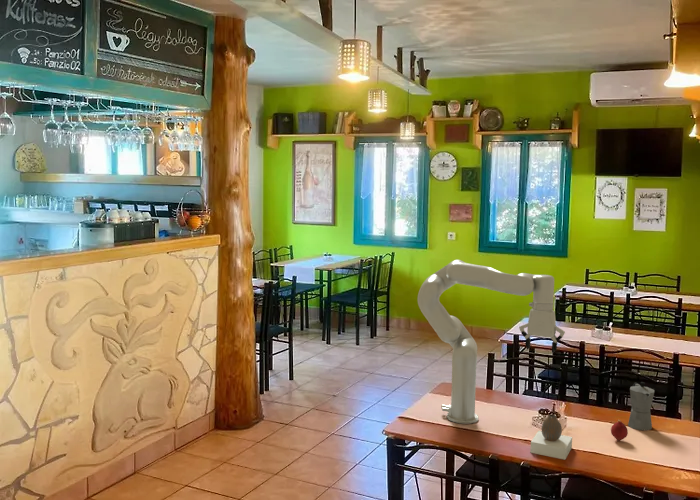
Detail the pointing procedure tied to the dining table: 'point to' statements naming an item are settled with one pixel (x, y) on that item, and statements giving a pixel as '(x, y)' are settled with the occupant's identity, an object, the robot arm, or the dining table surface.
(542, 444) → the grey block
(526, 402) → the dining table surface
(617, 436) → the onion
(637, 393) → the coffeepot
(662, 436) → the dining table surface
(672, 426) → the dining table surface
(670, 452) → the dining table surface
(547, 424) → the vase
